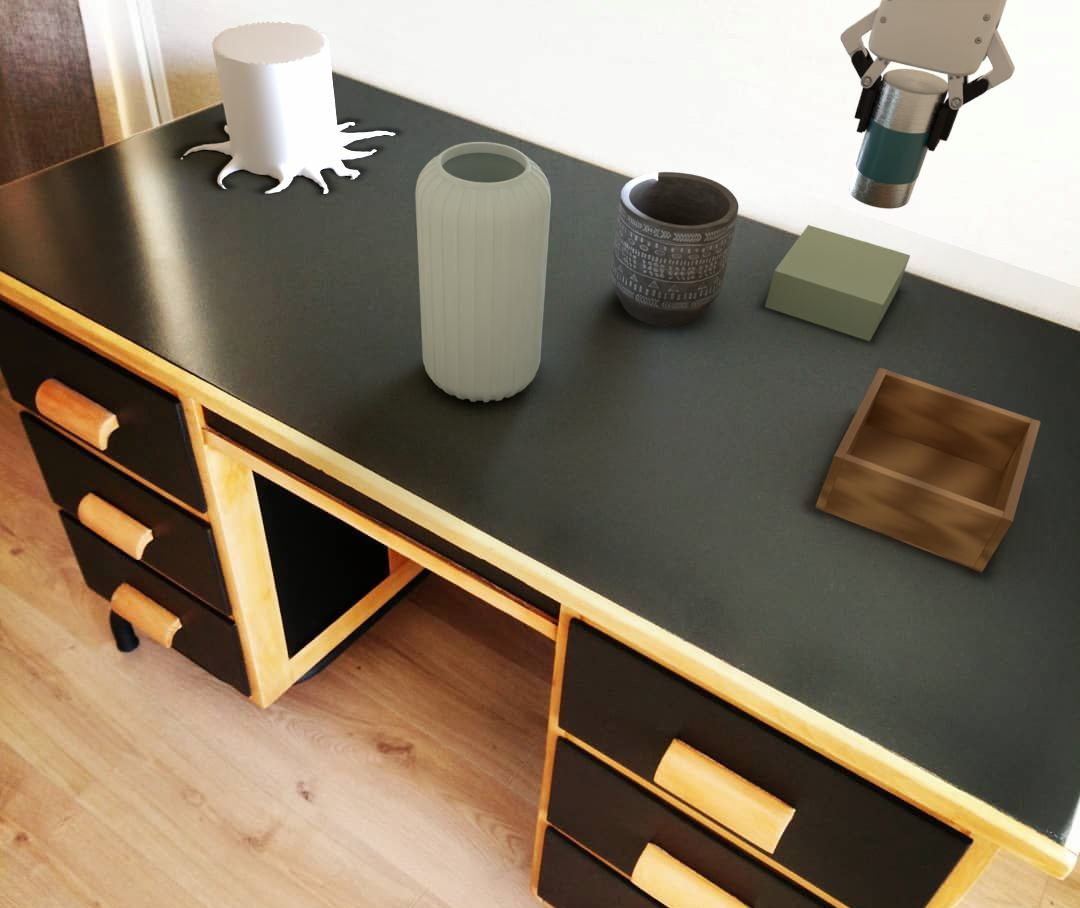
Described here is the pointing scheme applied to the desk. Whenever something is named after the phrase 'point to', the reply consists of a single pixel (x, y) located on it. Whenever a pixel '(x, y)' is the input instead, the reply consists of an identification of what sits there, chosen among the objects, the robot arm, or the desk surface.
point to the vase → (482, 268)
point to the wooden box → (931, 468)
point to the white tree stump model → (280, 104)
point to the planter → (671, 246)
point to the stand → (837, 282)
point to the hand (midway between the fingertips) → (898, 134)
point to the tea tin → (897, 137)
